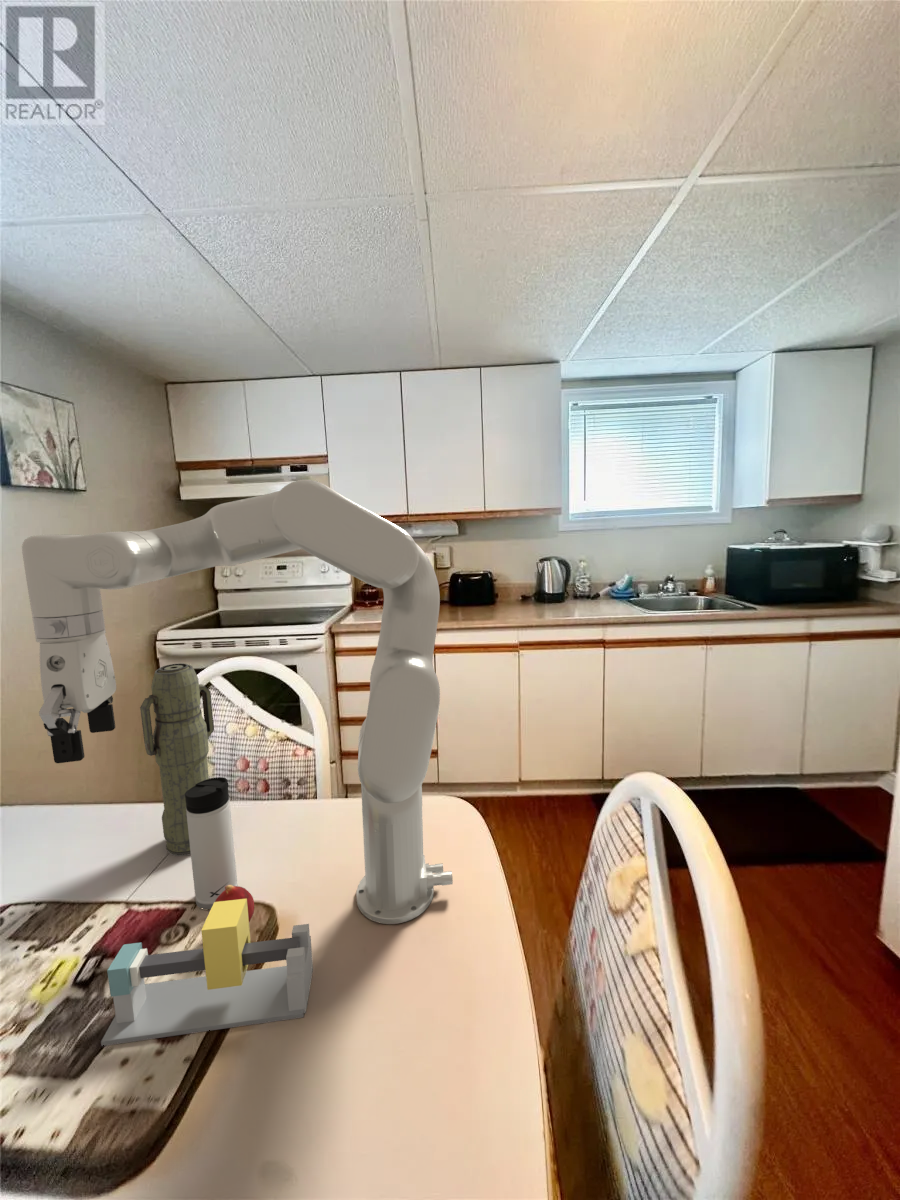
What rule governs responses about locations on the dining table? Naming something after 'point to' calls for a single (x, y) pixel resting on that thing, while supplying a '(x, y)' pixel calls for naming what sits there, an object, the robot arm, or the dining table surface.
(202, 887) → the travel mug
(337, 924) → the dining table surface
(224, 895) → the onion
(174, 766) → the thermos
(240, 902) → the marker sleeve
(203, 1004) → the grey long frame
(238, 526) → the robot arm
